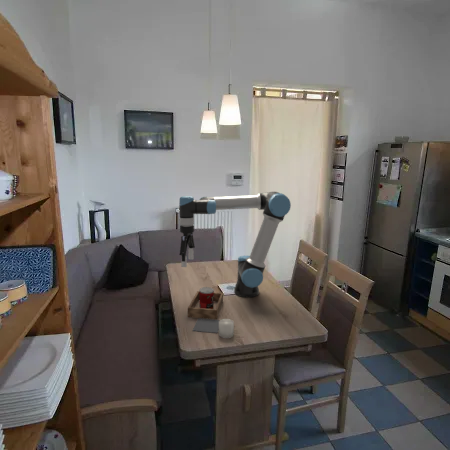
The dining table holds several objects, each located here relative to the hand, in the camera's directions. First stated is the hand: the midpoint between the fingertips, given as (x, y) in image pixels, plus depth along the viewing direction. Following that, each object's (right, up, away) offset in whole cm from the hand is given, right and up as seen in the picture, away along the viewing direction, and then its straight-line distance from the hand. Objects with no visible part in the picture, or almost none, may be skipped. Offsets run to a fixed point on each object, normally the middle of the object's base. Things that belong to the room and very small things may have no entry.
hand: (187, 262), depth 175 cm
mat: (+12, -28, -20) cm, 37 cm away
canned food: (+10, -25, -2) cm, 27 cm away
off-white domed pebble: (+21, -30, -27) cm, 46 cm away
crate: (+10, -25, -2) cm, 27 cm away
